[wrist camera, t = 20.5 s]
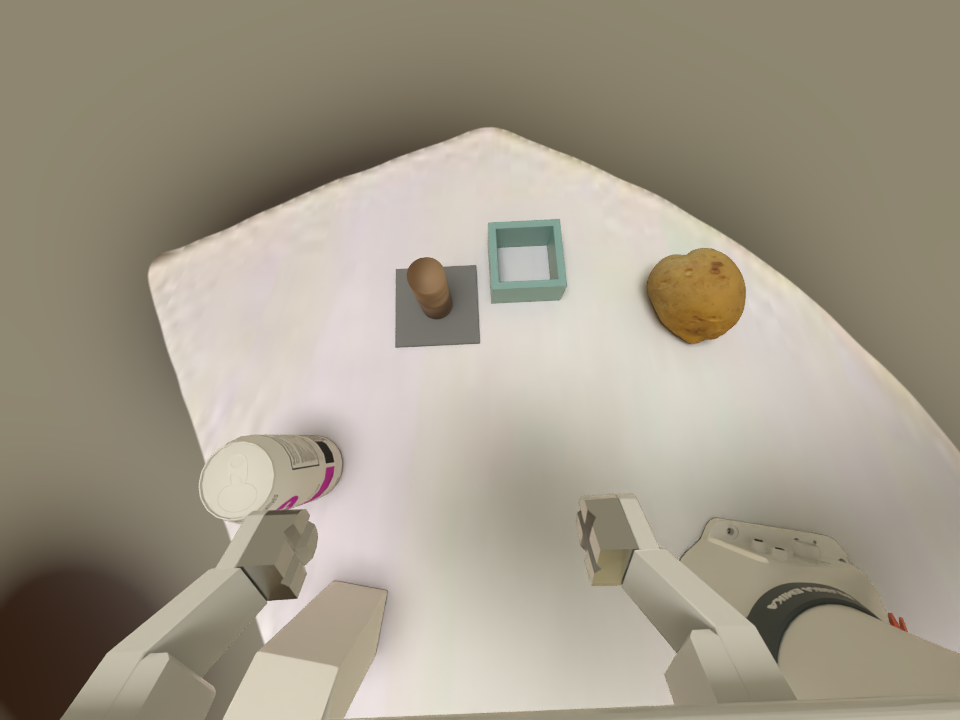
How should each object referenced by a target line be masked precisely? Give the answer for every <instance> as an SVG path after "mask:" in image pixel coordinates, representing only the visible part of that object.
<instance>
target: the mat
mask: <svg viewBox="0 0 960 720" xmlns="http://www.w3.org/2000/svg"><path fill="white" fill-rule="evenodd" d="M443 268H444V271H445V275H446V279H447V283H448V287H449V291H450V295H451V299H452V304H453V305H452V310H451V312H450V313H449V314H448V315H447V316H446V317H444V318H442V319H431V318H429V317H427V316H426V315H425V313H424V312H423V310H422V308H421V306H420V304H419V302H418V300H417V299H416V297H415V295H414V293H413V291H412V289H411V287H410V285H409V283H408V281H407V271H408V269H396V343H395V347H396V348H397V347H418V346H438V345H459V344H479V343H480V341H479V319H478V298H477V277H476V265H470V266H450V267H443Z"/></svg>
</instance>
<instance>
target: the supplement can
mask: <svg viewBox="0 0 960 720" xmlns="http://www.w3.org/2000/svg"><path fill="white" fill-rule="evenodd" d="M341 471H342V459H341V454H340V451H339V450H338V448H337V447H336V445H335V444H334V443H333V442H331V441H330V440H328V439H327V438H325V437H321V436H316V435H249V436H242V437H239V438H237V439H235V440H233V441H231V442H229V443H227V444H226V445H225V446H224V447H222V448H220V449H218V450H217V451H216V452H215V453H214V454H213V455H212V456H211V457H210V458H209V459H208V460H207V462H206V464H205V466H204V468H203V470H202V471H201V476H200V481H199V492H200V499H201V501H202V502H203V504H204V506H205V508H206V510H208V511H209V512H210V513H211V514H213V515H214V516H215V517H217V518H220V519H223V520H225V521H229V522H233V523H237V524H242V523H243V521H244V520H245V518H246V517H247V515H249V514H250V513H251V512H252V511H262V510H289V509H291V508H294V507H297V506H300V505H302V504H305V503H308V502H310V501H313V500H316V499H318V498H320V497H322V496H324V495H326V494H328V493H329V492H330V491H331V490H332V489H333V488H334V487H335V485H336V484H337V482H338V480H339V478H340V476H341Z"/></svg>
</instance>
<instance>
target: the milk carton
mask: <svg viewBox="0 0 960 720" xmlns="http://www.w3.org/2000/svg"><path fill="white" fill-rule="evenodd" d="M386 597H387V591H386V590H381V589H376V588H370V587H365V586H360V585H354V584H349V583H343V582H338V581H333V582H331V583H330V584H329V585H328V586H327V587H326V588H325V589H324V590H323V591H322V592H321V593H320V594H319V595H318V596H316V597H315V598H314V599H313V600H312V601H311V602H310V603H309V604H308V605H307V606H306V607H305V608H304V609H303V610H302V611H300V612H299V613H298V614H297V615H296V616H295V617H294V618H293V619H292V620H291V621H290V622H289V623H288V624H287V625H286V626H284V627H283V628H282V629H281V630H280V631H279V632H278V633H277V634H276V635H275V636H274V637H273V638H272V639H271V640H270V641H268V642H267V643H266V644H265V645H264V646H263V647H262V648H261V649H260V650H259V651H258V652H257V653H256V655H255V657H254V659H253V661H252V663H251V665H250V667H249V669H248V671H247V672H246V675H245V676H244V678H243V680H242V683H241V684H240V686H239V688H238V690H237V692H236V694H235V696H234V698H233V700H232V702H231V704H230V706H229V708H228V710H227V712H226V714H225V716H224V718H223V720H330V719H343V718H344V716H345V715H346V713H347V711H348V709H349V707H350V705H351V703H352V701H353V699H354V697H355V695H356V693H357V691H358V689H359V687H360V685H361V683H362V681H363V679H364V677H365V675H366V673H367V671H368V669H369V667H370V665H371V663H372V661H373V659H374V657H375V655H376V650H377V645H378V639H379V634H380V629H381V624H382V618H383V613H384V608H385V602H386Z"/></svg>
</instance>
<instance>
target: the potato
mask: <svg viewBox="0 0 960 720" xmlns="http://www.w3.org/2000/svg"><path fill="white" fill-rule="evenodd" d="M647 289H648V294H649V297H650V299H651V302H652V304H653V306H654V308H655V310H656V312H657V314H658V316H659V318H660V320H661V322H662V323H663V324H664V325H665V326H666V327H667V328H668V329H669V330H671V331H672V332H673V333H674V334H676V335H678V336H679V337H680V338H682V339H683V340H685V341H686V342H688V343H689V344H694V343H699V342H701V341H703V340H705V339H716V338H718V337H719V336H721V335H723V334H725V333H726V332H727V331H728V330H729V329H731V328H732V327H733V326H734V325H735V324H736V323H737V322H738V320H739V319H740V317H741V315H742V313H743V310H744V305H745V297H746V288H745V283H744V279H743V276H742V274H741V272H740V270H739V269H738V267H737V266H736V264H735V263H734V262H733V261H732V260H731V259H730V258H729V257H728V256H726V255H725V254H723V253H721V252H719V251H716V250H714V249H712V248H711V249H709V248H700V249H695V250H692V251H691V252H689V253H688V254H687V255H670V256H668V257H665V258H664V259H662V260H661V261H660V262H659V263H658V264H657V265H656V266H655V267H654V269H653V270H652V272H651V274H650V276H649V278H648V281H647Z"/></svg>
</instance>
